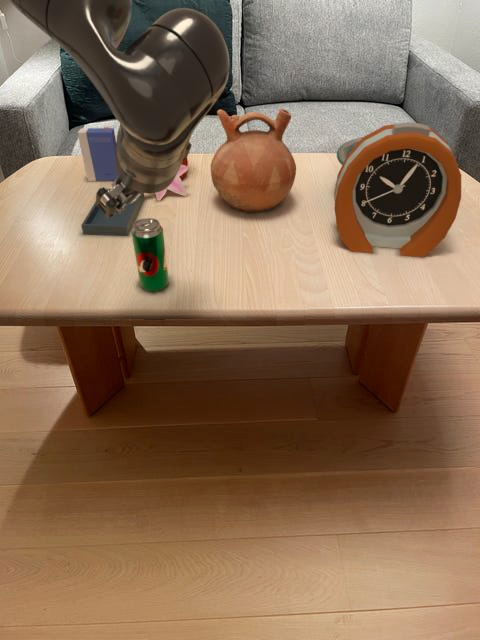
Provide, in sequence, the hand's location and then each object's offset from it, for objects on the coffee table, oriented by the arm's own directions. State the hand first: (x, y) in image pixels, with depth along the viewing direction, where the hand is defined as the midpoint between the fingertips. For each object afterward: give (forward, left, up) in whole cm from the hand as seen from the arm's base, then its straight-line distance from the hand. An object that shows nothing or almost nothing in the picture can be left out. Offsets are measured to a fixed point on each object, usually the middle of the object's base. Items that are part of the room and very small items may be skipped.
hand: (140, 189), depth 69 cm
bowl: (+55, -26, -19) cm, 63 cm away
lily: (+32, +20, -19) cm, 42 cm away
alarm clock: (+36, -31, -19) cm, 51 cm away
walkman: (+31, +37, -19) cm, 52 cm away
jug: (+38, 0, -19) cm, 42 cm away
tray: (+18, +23, -19) cm, 35 cm away
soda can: (+2, +1, -19) cm, 19 cm away
